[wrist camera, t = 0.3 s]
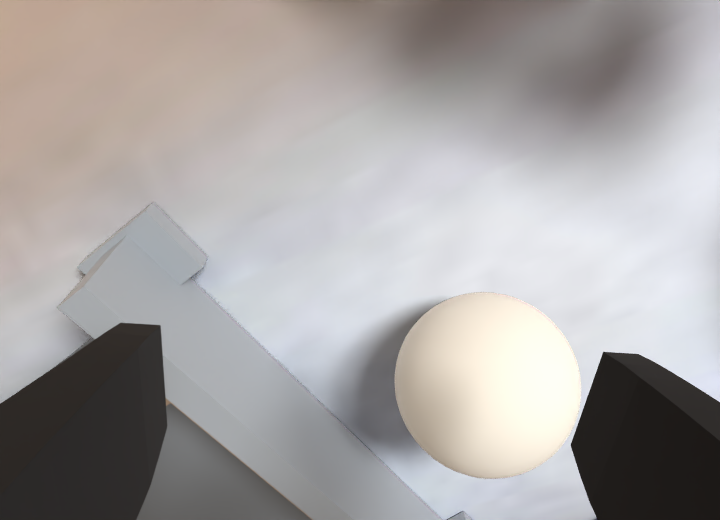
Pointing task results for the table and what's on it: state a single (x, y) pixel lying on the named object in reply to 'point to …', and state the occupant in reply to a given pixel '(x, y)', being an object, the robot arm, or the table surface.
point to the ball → (487, 385)
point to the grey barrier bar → (234, 377)
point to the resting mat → (207, 480)
